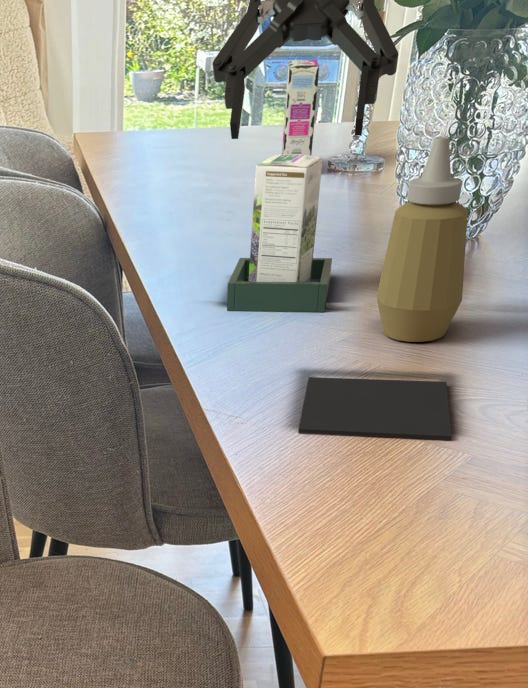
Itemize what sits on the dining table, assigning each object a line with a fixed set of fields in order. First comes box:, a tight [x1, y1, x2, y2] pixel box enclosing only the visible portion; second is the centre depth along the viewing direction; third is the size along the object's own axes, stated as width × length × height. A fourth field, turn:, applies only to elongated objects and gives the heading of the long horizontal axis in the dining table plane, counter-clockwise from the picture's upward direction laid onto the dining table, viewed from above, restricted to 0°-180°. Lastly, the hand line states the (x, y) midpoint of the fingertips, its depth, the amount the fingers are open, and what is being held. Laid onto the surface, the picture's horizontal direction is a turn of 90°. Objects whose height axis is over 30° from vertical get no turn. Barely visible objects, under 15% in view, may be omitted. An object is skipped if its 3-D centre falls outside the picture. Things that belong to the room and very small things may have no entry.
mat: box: [297, 376, 453, 441], centre depth 85 cm, size 12×12×1 cm
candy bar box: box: [281, 59, 320, 156], centre depth 167 cm, size 11×5×16 cm, turn 169°
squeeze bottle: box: [376, 136, 469, 343], centre depth 95 cm, size 8×8×18 cm
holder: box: [226, 257, 333, 313], centre depth 112 cm, size 11×11×3 cm
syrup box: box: [247, 153, 324, 282], centre depth 109 cm, size 6×6×14 cm
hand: (295, 129), depth 110 cm, fingers open, 13 cm apart
